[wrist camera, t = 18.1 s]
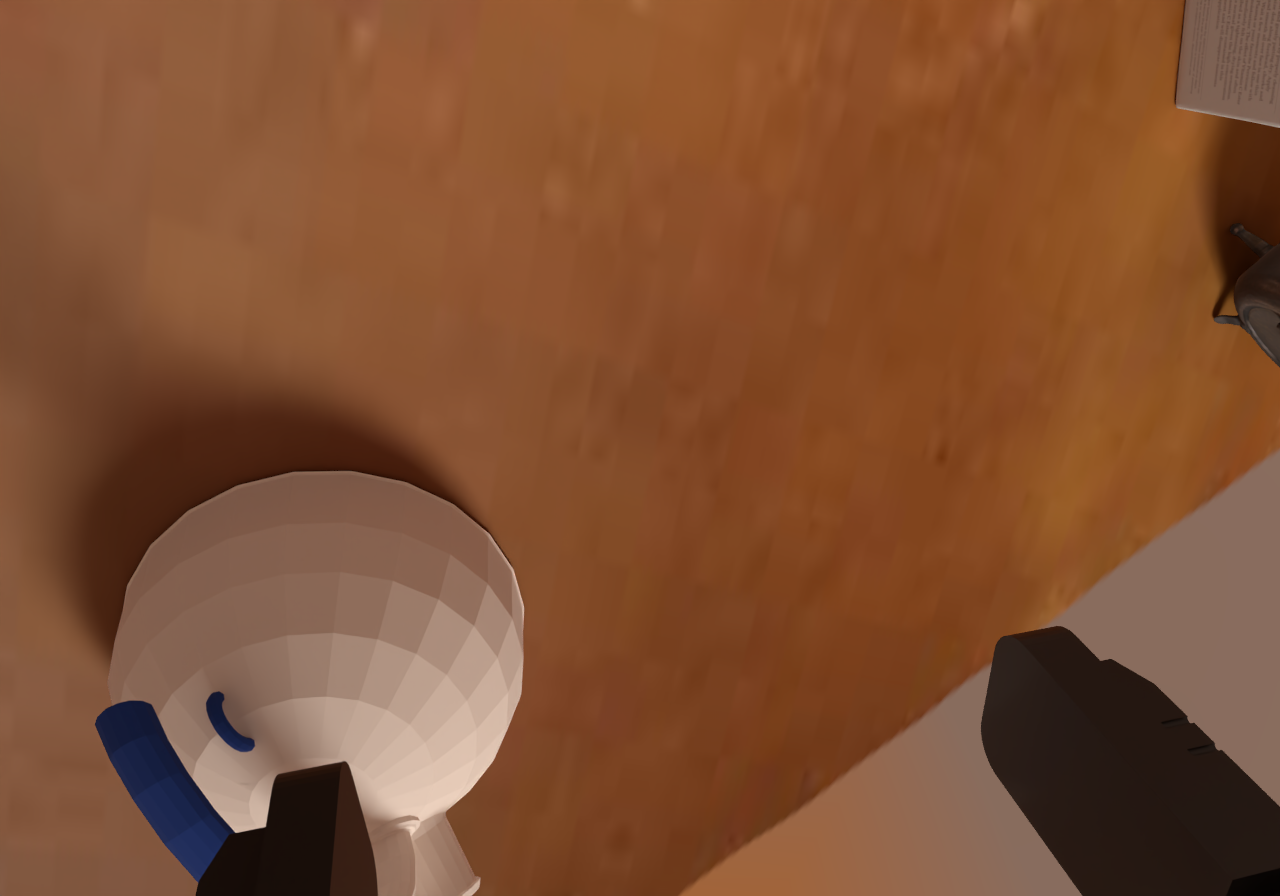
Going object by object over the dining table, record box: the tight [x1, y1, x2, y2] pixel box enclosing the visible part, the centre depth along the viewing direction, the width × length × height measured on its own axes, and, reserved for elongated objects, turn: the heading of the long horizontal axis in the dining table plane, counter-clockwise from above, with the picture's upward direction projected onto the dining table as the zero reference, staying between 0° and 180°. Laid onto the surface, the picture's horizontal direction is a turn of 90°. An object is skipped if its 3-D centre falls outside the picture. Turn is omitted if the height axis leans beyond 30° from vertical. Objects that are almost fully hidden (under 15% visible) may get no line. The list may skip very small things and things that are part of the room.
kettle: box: [95, 471, 524, 896], centre depth 41 cm, size 20×21×18 cm
